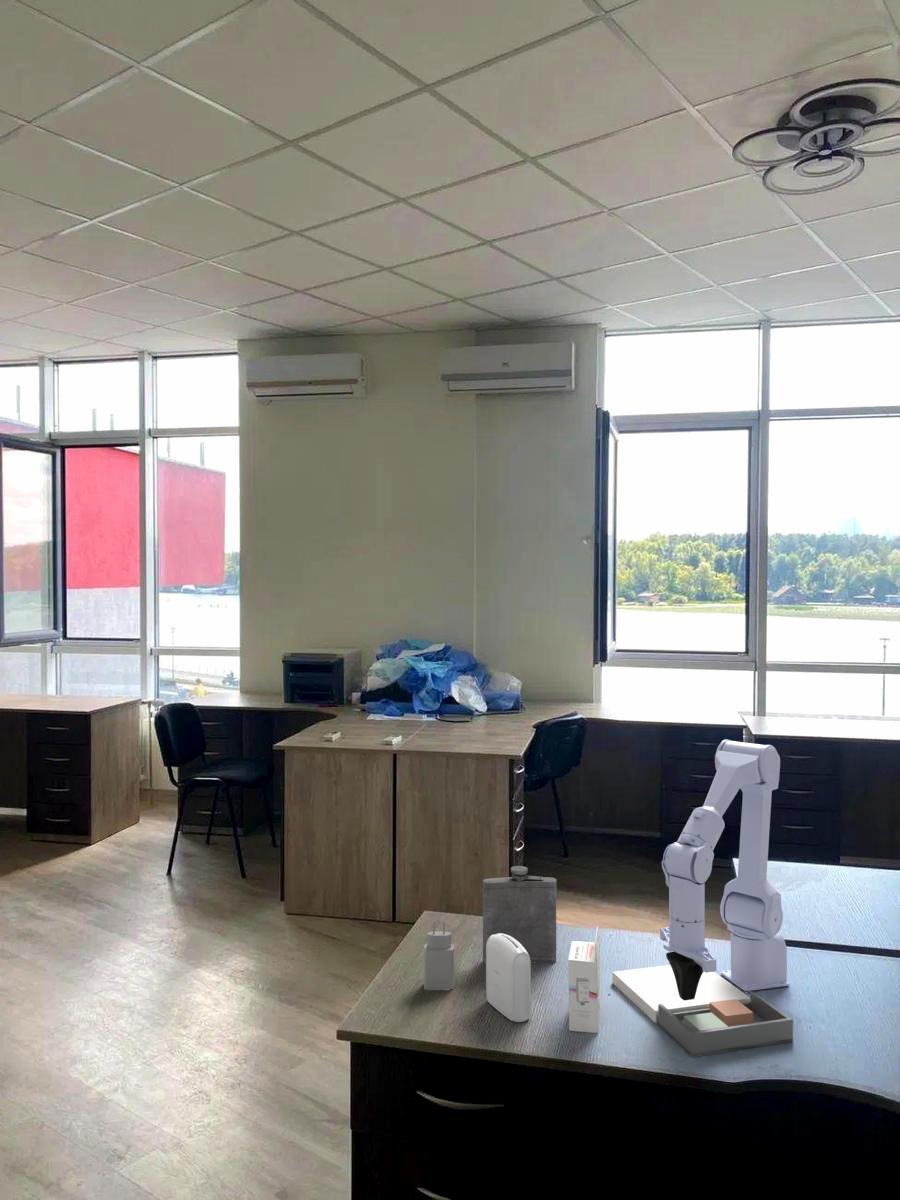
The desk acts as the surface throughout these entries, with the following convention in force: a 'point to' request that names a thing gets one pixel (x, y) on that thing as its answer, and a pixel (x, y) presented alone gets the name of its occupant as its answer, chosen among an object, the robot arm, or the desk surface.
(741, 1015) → the terracotta tile
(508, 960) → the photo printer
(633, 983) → the white board
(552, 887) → the flask
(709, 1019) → the sage-green tile
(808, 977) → the desk surface
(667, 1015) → the box
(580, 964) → the ink cartridge box
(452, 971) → the power adapter
